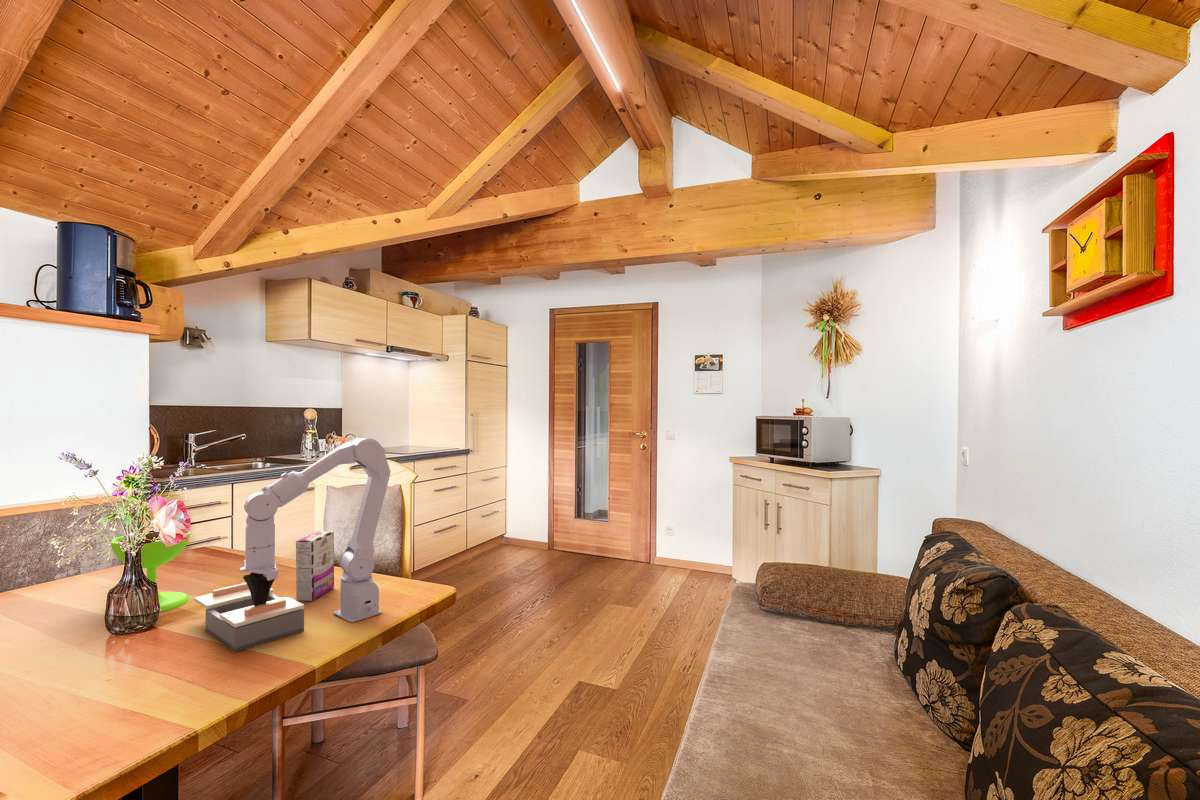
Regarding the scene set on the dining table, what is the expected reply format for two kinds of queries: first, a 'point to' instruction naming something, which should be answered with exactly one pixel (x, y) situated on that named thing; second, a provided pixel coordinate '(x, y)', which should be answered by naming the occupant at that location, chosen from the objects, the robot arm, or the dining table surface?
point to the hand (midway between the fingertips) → (259, 605)
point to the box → (252, 626)
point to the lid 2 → (261, 611)
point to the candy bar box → (314, 565)
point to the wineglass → (152, 558)
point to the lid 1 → (225, 596)
